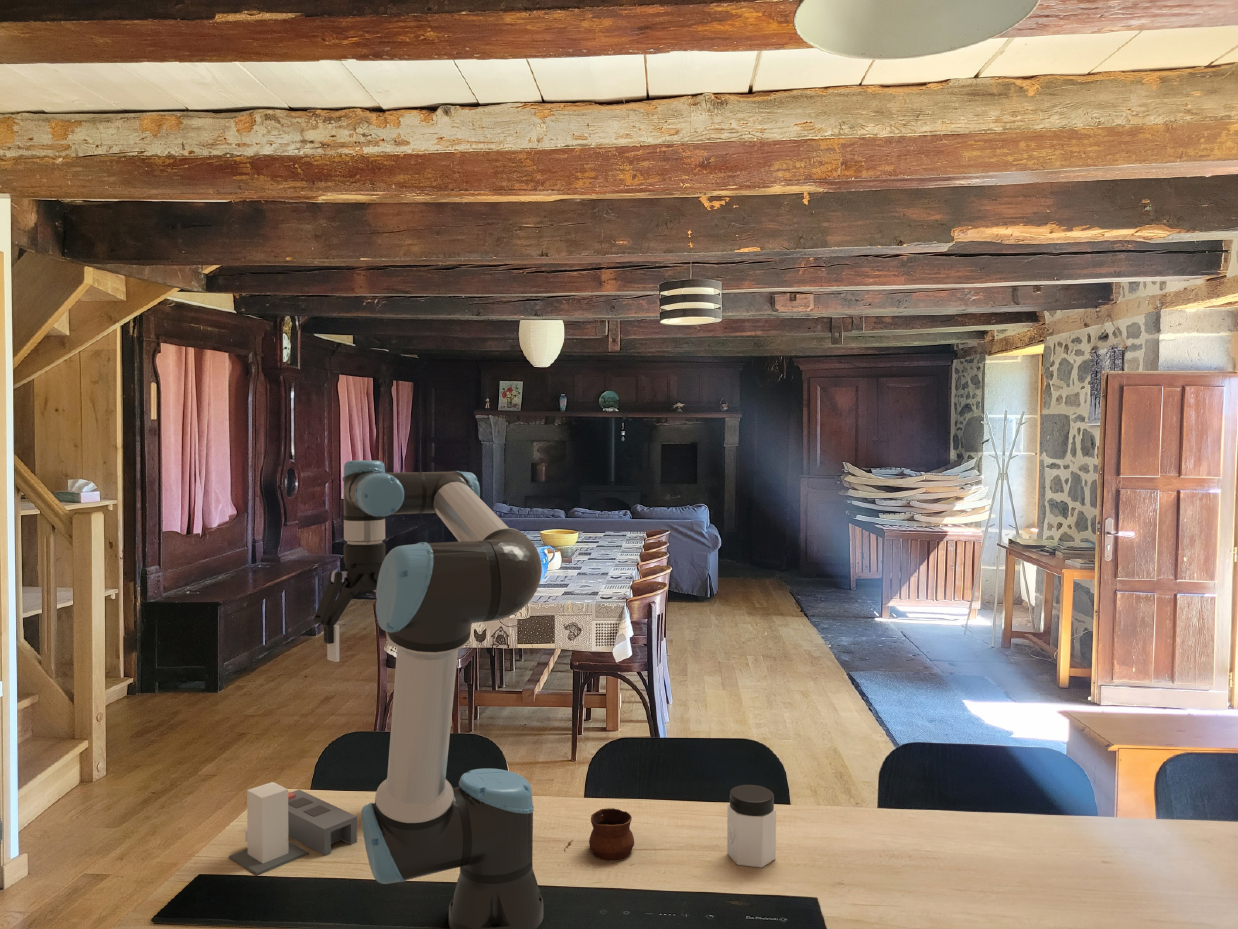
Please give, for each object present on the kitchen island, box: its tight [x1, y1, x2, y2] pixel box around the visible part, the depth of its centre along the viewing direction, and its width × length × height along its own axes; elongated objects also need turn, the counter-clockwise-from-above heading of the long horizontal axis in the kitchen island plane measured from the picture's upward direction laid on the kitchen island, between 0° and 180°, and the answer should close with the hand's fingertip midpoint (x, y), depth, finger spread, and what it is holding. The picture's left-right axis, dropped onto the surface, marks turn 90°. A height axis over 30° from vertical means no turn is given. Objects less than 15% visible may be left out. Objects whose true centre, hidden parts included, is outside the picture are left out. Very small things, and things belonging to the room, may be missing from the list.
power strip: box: [288, 789, 358, 857], centre depth 167 cm, size 20×7×6 cm, turn 52°
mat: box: [228, 840, 309, 876], centre depth 158 cm, size 10×10×1 cm
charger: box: [244, 781, 289, 863], centre depth 159 cm, size 8×5×12 cm, turn 51°
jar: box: [726, 784, 777, 869], centre depth 159 cm, size 9×8×12 cm
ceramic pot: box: [563, 807, 635, 862], centre depth 161 cm, size 18×18×7 cm
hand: (364, 653), depth 162 cm, fingers open, 13 cm apart
